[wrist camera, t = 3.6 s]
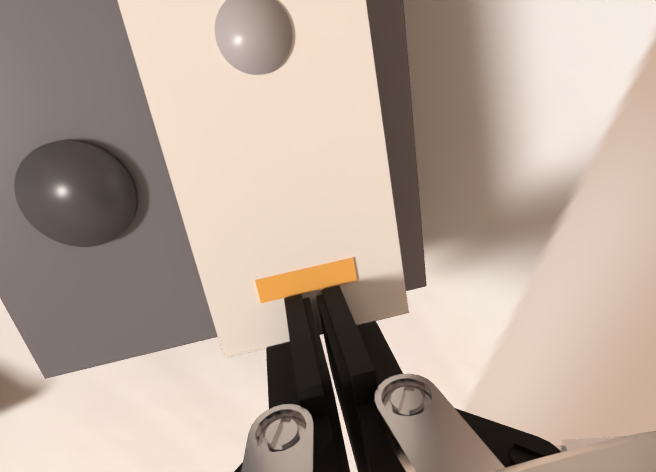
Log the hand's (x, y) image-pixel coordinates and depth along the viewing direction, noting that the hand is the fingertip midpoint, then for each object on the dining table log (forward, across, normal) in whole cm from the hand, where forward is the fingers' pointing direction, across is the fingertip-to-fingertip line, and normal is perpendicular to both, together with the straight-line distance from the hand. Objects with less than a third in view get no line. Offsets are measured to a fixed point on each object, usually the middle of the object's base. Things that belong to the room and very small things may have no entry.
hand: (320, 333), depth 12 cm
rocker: (+1, 0, -5) cm, 5 cm away
